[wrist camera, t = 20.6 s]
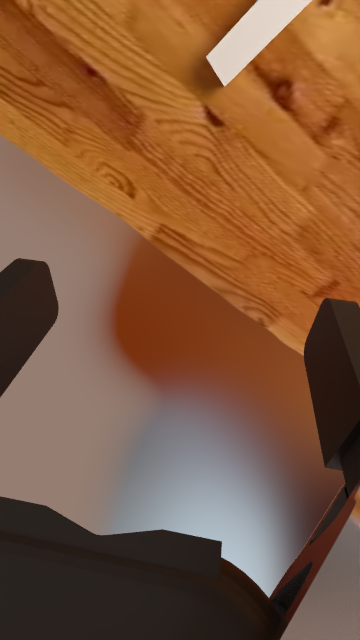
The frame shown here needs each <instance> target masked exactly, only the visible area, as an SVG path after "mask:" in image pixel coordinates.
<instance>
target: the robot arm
mask: <svg viewBox="0 0 360 640" xmlns="http://www.w3.org/2000/svg"><path fill="white" fill-rule="evenodd" d="M57 316H58V301H57V297H56V293H55V289H54V286H53V281H52V278H51V273H50V269H49V267H48V265H47V264H46V263H45V262H43V261H36V260H28V259H21V258H19V259H16V260H14V261H13V262H12V263H11V264H10V265H8V266H7V267H6V268H5V269H4V270H3V271H1V272H0V397H1V396H2V394H3V393H4V392H5V390H6V389H7V388H8V386H9V385H10V383H11V382H12V380H13V379H14V378H15V377H16V375H17V374H18V372H19V371H20V370H21V368H22V367H23V366H24V364H25V363H26V361H27V360H28V359H29V357H30V356H31V355H32V353H33V352H34V351H35V349H36V347H37V346H38V345H39V344H40V342H41V341H42V340H43V338H44V337H45V335H46V334H47V333H48V331H49V330H50V329H51V327H52V326H53V324H54V323H55V321H56V319H57ZM304 362H305V367H306V372H307V377H308V382H309V388H310V393H311V398H312V403H313V408H314V414H315V419H316V424H317V429H318V434H319V440H320V445H321V450H322V455H323V460H324V465H325V468H331V469H337V470H342V471H343V474H344V478H345V484H344V485H343V486H342V488H341V489H340V490H339V492H338V493H337V495H336V497H335V498H334V500H333V501H332V503H331V505H330V506H329V508H328V509H327V511H326V513H325V514H324V516H323V517H322V519H321V521H320V522H319V524H318V526H317V527H316V529H315V530H314V532H313V533H312V535H311V537H310V538H309V540H308V541H307V543H306V545H305V546H304V548H303V549H302V551H301V552H300V554H299V555H298V556H297V558H296V559H295V560H294V562H293V563H292V564H291V566H290V567H289V568H288V570H287V571H286V573H285V574H284V576H283V577H282V579H281V580H280V582H279V583H278V585H277V586H276V588H275V590H274V591H273V593H272V594H271V596H270V597H269V598H268V597H267V595H266V594H265V593H264V592H263V591H262V590H261V588H260V587H259V586H258V585H257V584H256V583H255V582H254V581H253V580H252V579H251V578H250V577H249V576H247V575H246V574H245V573H244V572H243V571H241V570H240V569H239V568H237V567H236V566H235V565H233V564H232V563H230V562H229V561H227V560H225V559H223V558H221V547H222V542H221V541H216V540H211V539H206V538H202V537H196V536H192V535H187V534H181V533H177V532H172V531H167V530H154V531H143V532H134V533H123V534H113V535H102V536H101V535H96V534H94V533H91V532H90V531H88V530H86V529H85V528H83V527H81V526H80V525H78V524H76V523H74V522H73V521H71V520H69V519H68V518H66V517H64V516H62V515H61V514H59V513H58V512H56V511H54V510H52V509H51V508H49V507H47V506H44V505H39V504H35V503H30V502H24V501H20V500H15V499H9V498H5V497H0V640H360V308H359V305H358V304H357V303H356V302H353V301H345V300H338V299H330V298H326V299H324V300H323V302H322V303H321V305H320V308H319V310H318V313H317V315H316V317H315V320H314V322H313V325H312V327H311V329H310V332H309V334H308V337H307V339H306V343H305V348H304Z"/></svg>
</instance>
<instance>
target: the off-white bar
mask: <svg viewBox="0 0 360 640" xmlns="http://www.w3.org/2000/svg"><path fill="white" fill-rule="evenodd" d="M311 1H312V0H258V1H257V2H256V3H255V4H254V5H253V6H252V7H251V8H250V10H249V11H248V12H247V13H246V14H245V15H244V16H243V17H242V18H241V19H240V20H239V22H238V23H237V24H236V25H235V26H234V27H233V28H232V29H231V30H230V31H229V32H228V34H227V35H226V36H225V37H224V38H223V39H222V40H221V41H220V42H219V43H218V44H217V46H216V47H215V48H214V49H213V50H212V51H211V52H210V53H209V54H208V55H207V56H206V58H207V60H208V61H209V63H210V64H211V66H212V68H213V69H214V71H215V72H216V74H217V76H218V77H219V79H220V80H221V82H222V84H223V85H224V87H225V86H226V85H227V84H228V83H229V82H230V81H231V80H232V79H233V78H234V77H235V76H236V75H237V74H238V73H239V72H240V71H241V70H242V69H243V68H244V67H245V66H246V65H247V64H248V63H249V62H250V61H251V60H252V59H253V58H254V57H255V56H256V55H257V54H258V53H259V52H260V51H261V50H262V49H263V48H264V47H265V46H266V45H267V44H268V43H269V42H270V41H271V40H272V39H273V38H274V37H275V36H276V35H277V34H278V33H279V32H280V31H281V30H282V29H283V28H284V27H285V26H286V25H287V24H288V23H289V22H290V21H292V20H293V19H294V18H295V17H296V16H297V15H298V14H299V13H300V12H301V11H302V10H303V9H304V8H305V7H306V6H307V5H308V4H309V3H310V2H311Z"/></svg>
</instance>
